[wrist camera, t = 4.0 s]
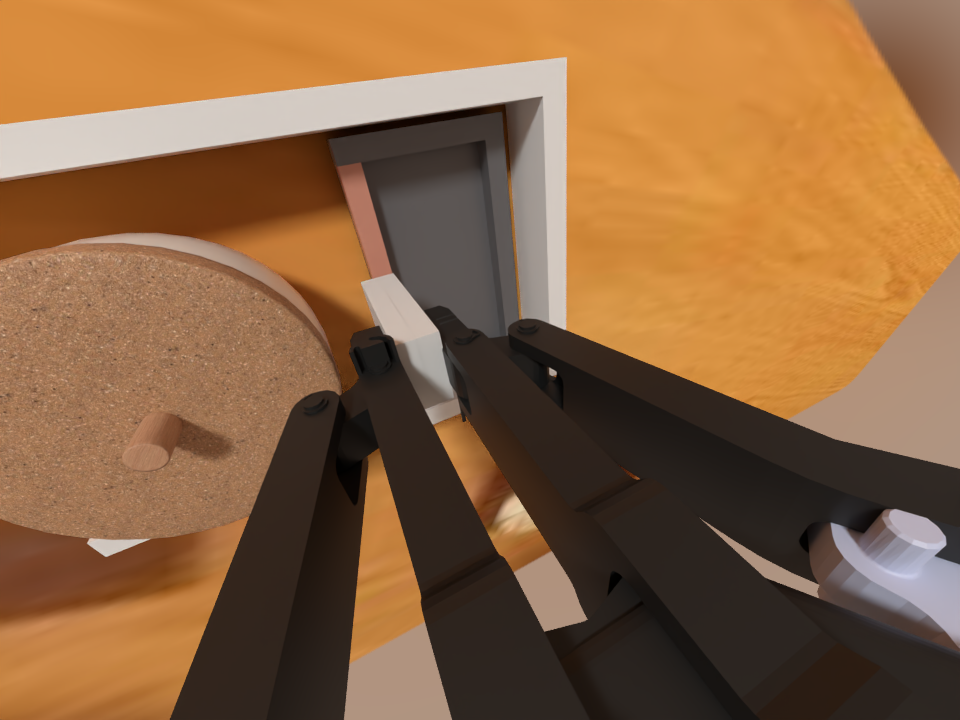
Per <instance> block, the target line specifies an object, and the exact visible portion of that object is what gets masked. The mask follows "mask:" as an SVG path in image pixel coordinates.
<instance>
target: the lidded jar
mask: <svg viewBox="0 0 960 720" xmlns="http://www.w3.org/2000/svg"><path fill="white" fill-rule="evenodd" d="M325 390H330V391H335V392H336V393H337V394H338V395H341V394H342V387H341V380H340V374H339V371H338V368H337V365H336V363H335V360H334V357H333V354H332V352H331V348H330V346H329V343H328V340H327V337H326V334H325V332H324V330H323V328H322V326H321V324H320V322H319V321H318V319H317V317H316V315H315V314H314V312H313V310H312V308H311V307H310V306H309V305H308V303H307V302H306V301H305V300H304V298H303V297H302V296H301V295H300V294H299V292H297V291H296V290H295V289H294V288H293V287H292V286H291V285H290V284H289V283H288V282H287V281H286V280H285V279H283V278H282V277H281V276H280V275H279V274H277V273H276V272H274V271H273V270H272V269H270V268H269V267H267V266H266V265H264V264H263V263H261V262H259V261H257V260H255V259H254V258H252V257H250V256H248V255H246V254H244V253H242V252H239V251H237V250H234V249H232V248H229V247H226V246H224V245H221V244H218V243H214V242H210V241H206V240H202V239H198V238H194V237H187V236H179V235H171V234H162V233H124V234H115V235H107V236H100V237H93V238H86V239H80V240H76V241H73V242H69V243H66V244H63V245H59V246H56V247H52V248H45V249H39V250H34V251H30V252H27V253H23V254H20V255H17V256H13V257H10V258H6V259H3V260H0V519H3V520H5V521H8V522H11V523H14V524H17V525H21V526H25V527H29V528H32V529H36V530H40V531H43V532H47V533H54V534H61V535H67V536H74V537H81V538H94V539H106V540H134V539H152V538H164V537H174V536H179V535H184V534H190V533H195V532H200V531H204V530H208V529H212V528H215V527H219V526H223V525H227V524H229V523H232V522H234V521H237V520H240V519H242V518H245V517H247V516H250V514H251V511H252V509H253V506H254V504H255V501H256V498H257V496H258V493H259V491H260V488H261V486H262V483H263V481H264V478H265V475H266V473H267V470H268V468H269V465H270V463H271V460H272V458H273V455H274V452H275V450H276V447H277V445H278V442H279V440H280V437H281V435H282V432H283V430H284V427H285V424H286V422H287V419H288V417H289V414H290V412H291V410H292V408H293V407H294V405H295V404H296V403H297V402H299V401H300V400H301V399H302V398H304V397H305V396H308V395H309V394H311V393H315V392H318V391H325Z"/></svg>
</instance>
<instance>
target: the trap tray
mask: <svg viewBox="0 0 960 720" xmlns="http://www.w3.org/2000/svg"><path fill="white" fill-rule="evenodd" d="M326 141H327V144H328V147H329V150H330V153H331V156H332V159H333V162H334V165H335V169H336V172H337V175H338V178H339V181H340V184H341V187H342V190H343V193H344V197H345V200H346V203H347V206H348V209H349V212H350V215H351V218H352V221H353V225H354V228H355V231H356V234H357V237H358V240H359V243H360V246H361V249H362V253H363V256H364V259H365V262H366V265H367V268H368V271H369V274H370V277H371V279H374V278H377V277H381V276H384V275H388V274H392V273H393V274H394V275H395V276H396V277H397V279H398V280H399V281H400V282H401V284H402V285H403V286H404V287H405V289H406V290H407V291H408V292H409V294H410V295H411V296H412V298H413V299H414V300H415V301H416V303H417V304H418V305H419V306H420V308H421V309H422V310H427V309H430V308H433V307H436V306H439V305H440V306H443V307H446V308H449V309H450V310H451V311H452V312H453V313H454V314H455V315H456V316H457V318H458V319H459V320H460V321H461V322H462V323H463V324H464V325H465V326H466V327H467V328H468V329H477V330H480V331H481V332H483V333H484V334H485V335H486V336H487V337H488V338H494V337H501V336H508V327H509V325H511V324H512V323H514V322H516V321H518V320H519V314H518V302H517V289H516V277H515V265H514V253H513V241H512V229H511V216H510V204H509V192H508V180H507V168H506V155H505V143H504V131H503V119H502V112H497V113H491V114H484V115H478V116H472V117H466V118H459V119H453V120H447V121H440V122H434V123H428V124H422V125H415V126H409V127H403V128H397V129H390V130H384V131H378V132H372V133H365V134H359V135H353V136H347V137H340V138H334V139H328V140H326Z"/></svg>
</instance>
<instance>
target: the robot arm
mask: <svg viewBox="0 0 960 720" xmlns="http://www.w3.org/2000/svg"><path fill="white" fill-rule="evenodd" d="M361 285H362V288H363V291H364V294H365V297H366V300H367V303H368V306H369V308H370V311H371V314H372V317H373V320H374V323H375V327H372V328H369V329H366V330H363V331H359V332H356V333H354V334H353V336H352V338H351V340H350V342H351V346H352V347H351V348H350V350H349V354H350V356H351V359H352V361H353V364H354V366H355V369H356V371H357V374H358V376H359V379H358V381H357V382H356V384H355V385H354V386H353V387H352V388H351V389H349V390H348V391H346V392H345V393H343V394H341V395H338V394H337V393H336V392H335V391H330V390H325V391H318V392H315V393H311V394H309V395H308V396H305V397H304V398H302V399H301V400H300V401H299V402H297V403H296V404H295V405H294V407H293V408H292V410H291V412H290V414H289V417H288V419H287V422H286V424H285V427H284V430H283V432H282V435H281V437H280V440H279V442H278V445H277V447H276V450H275V452H274V455H273V458H272V460H271V463H270V465H269V468H268V470H267V473H266V475H265V478H264V481H263V483H262V486H261V488H260V491H259V493H258V496H257V498H256V501H255V504H254V506H253V509H252V511H251V514H250V516H249V519H248V521H247V524H246V526H245V529H244V532H243V534H242V537H241V539H240V542H239V544H238V547H237V549H236V552H235V555H234V557H233V560H232V562H231V565H230V567H229V570H228V572H227V575H226V578H225V580H224V583H223V585H222V588H221V590H220V593H219V595H218V598H217V601H216V603H215V606H214V608H213V611H212V613H211V616H210V618H209V621H208V623H207V626H206V629H205V631H204V634H203V636H202V639H201V641H200V644H199V646H198V649H197V652H196V654H195V657H194V659H193V662H192V664H191V667H190V669H189V672H188V675H187V677H186V680H185V682H184V685H183V687H182V690H181V692H180V695H179V697H178V700H177V703H176V705H175V708H174V710H173V713H172V715H171V718H170V720H344V712H345V702H346V691H347V680H348V670H349V660H350V650H351V639H352V629H353V618H354V608H355V598H356V587H357V577H358V566H359V556H360V545H361V535H362V525H363V514H364V504H365V493H366V483H367V472H368V457H367V456H368V455H369V454H371V453H372V452H374V451H375V450H376V449H378V448H379V449H380V453H381V456H382V460H383V463H384V467H385V470H386V474H387V477H388V481H389V484H390V488H391V491H392V495H393V498H394V502H395V505H396V509H397V512H398V515H399V519H400V522H401V526H402V529H403V533H404V536H405V540H406V543H407V547H408V550H409V554H410V557H411V561H412V564H413V568H414V571H415V575H416V578H417V582H418V585H419V589H420V593H421V606H422V612H423V616H424V620H425V624H426V627H427V631H428V635H429V638H430V642H431V645H432V649H433V653H434V655H435V660H436V663H437V667H438V670H439V674H440V678H441V681H442V685H443V688H444V692H445V696H446V699H447V703H448V706H449V710H450V714H451V717H452V720H960V469H958V468H954V467H949V466H945V465H941V464H937V463H933V462H928V461H924V460H920V459H915V458H911V457H907V456H903V455H899V454H894V453H890V452H885V451H882V450H877V449H873V448H869V447H864V446H860V445H856V444H852V443H848V442H843V441H839V440H835V439H832V438H830V437H827V436H825V435H823V434H820V433H817V432H815V431H813V430H810V429H808V428H805V427H803V426H800V425H798V424H795V423H793V422H790V421H788V420H786V419H783V418H781V417H778V416H776V415H773V414H771V413H768V412H766V411H763V410H761V409H759V408H756V407H754V406H751V405H749V404H746V403H744V402H741V401H739V400H736V399H734V398H731V397H729V396H727V395H724V394H722V393H719V392H717V391H714V390H712V389H709V388H707V387H704V386H702V385H699V384H697V383H695V382H692V381H690V380H687V379H685V378H682V377H680V376H677V375H675V374H672V373H670V372H667V371H665V370H662V369H660V368H658V367H655V366H653V365H650V364H648V363H645V362H643V361H640V360H638V359H635V358H633V357H630V356H628V355H626V354H623V353H621V352H618V351H616V350H613V349H611V348H608V347H606V346H603V345H601V344H598V343H596V342H594V341H591V340H589V339H586V338H584V337H581V336H579V335H576V334H574V333H571V332H569V331H566V330H564V329H561V328H559V327H557V326H554V325H552V324H549V323H547V322H544V321H542V320H538V319H530V318H526V319H521V320H518V321H516V322H514V323H512V324H511V325H509V327H508V336H501V337H494V338H488V337H487V336H486V335H485V334H484V333H483V332H481V331H480V330H477V329H468V328H467V327H466V326H465V325H464V324H463V323H462V322H461V321H460V320H459V319H458V318H457V316H456V315H455V314H454V313H453V312H452V311H451V310H450V309H449V308H446V307H443V306H440V305H439V306H436V307H433V308H430V309H427V310H422V309H421V308H420V306H419V305H418V304H417V303H416V301H415V300H414V299H413V298H412V296H411V295H410V294H409V292H408V291H407V290H406V289H405V287H404V286H403V285H402V284H401V282H400V281H399V280H398V279H397V277H396V276H395V275H394V274H393V273H392V274H388V275H384V276H381V277H377V278H374V279H370V280H366V281H363V282H361ZM549 368H551V369H553V370H555V371H556V372H557V376H556V377H553V376H551V375H549ZM452 387H453V389H454V390H455V392H456V393H457V398H458V402H459V407H460V411H461V416H462V420H463V422H465V421H466V418H465V416H466V417H467V418H468V420H469V421H470V423H471V425H472V426H473V428H474V429H475V431H476V432H477V434H478V436H479V437H480V439H481V440H482V442H483V443H484V445H485V447H486V448H487V450H488V451H489V453H490V454H491V456H492V458H493V459H494V461H495V462H496V464H497V465H498V467H499V469H500V470H501V472H502V473H503V475H504V476H505V478H506V480H507V481H508V483H509V484H510V486H511V487H512V489H513V491H514V492H515V494H516V495H517V497H518V498H519V500H520V502H521V503H522V505H523V506H524V508H525V509H526V511H527V513H528V514H529V516H530V517H531V519H532V520H533V522H534V524H535V525H536V527H537V528H538V530H539V531H540V533H541V535H542V536H543V538H544V539H545V541H546V542H547V544H548V546H549V547H550V549H551V550H552V552H553V553H554V555H555V557H556V558H557V560H558V561H559V563H560V564H561V566H562V567H563V569H564V571H565V572H566V574H567V575H568V577H569V579H570V581H571V582H572V584H573V587H574V589H575V591H576V594H577V597H578V599H579V603H580V605H581V607H582V609H583V611H584V613H585V615H586V617H587V619H588V620H586V621H584V622H581V623H577V624H573V625H569V626H565V627H562V628H557V629H554V630H550V631H546V632H544V631H543V629H542V627H541V625H540V623H539V621H538V619H537V617H536V615H535V613H534V611H533V609H532V607H531V606H530V604H529V602H528V600H527V598H526V596H525V594H524V592H523V590H522V588H521V586H520V584H519V582H518V581H517V579H516V577H515V575H514V573H513V571H512V569H511V568H510V566H509V564H508V563H507V561H506V560H505V558H504V557H503V556H500V555H499V554H498V552H497V551H496V549H495V547H494V545H493V543H492V541H491V539H490V537H489V535H488V533H487V531H486V529H485V527H484V525H483V523H482V521H481V519H480V517H479V515H478V513H477V511H476V510H475V508H474V506H473V504H472V502H471V500H470V498H469V496H468V494H467V492H466V490H465V488H464V486H463V484H462V482H461V480H460V478H459V476H458V474H457V472H456V470H455V468H454V466H453V464H452V462H451V460H450V458H449V456H448V454H447V452H446V450H445V448H444V446H443V444H442V442H441V440H440V438H439V436H438V434H437V432H436V430H435V428H434V426H433V424H432V422H431V420H430V419H429V417H428V415H427V413H426V411H425V409H427V408H430V407H432V406H435V405H437V404H440V403H442V402H445V401H447V400H450V399H453V398H454V394H453V389H452ZM615 462H616V463H617V464H619V465H620V466H622V467H623V468H625V469H626V470H628V471H629V472H631V473H632V474H634V475H635V476H637V477H638V478H640V479H639V480H636V479H634V478H632V477H630V476H629V475H628V474H627V473H625V472H624V471H623V470H622V469H621V468H620V467H619V466H618V465H617V464H616V463H615ZM700 518H701V519H702V520H704V521H705V522H707V523H708V524H710V525H711V526H713V527H714V528H716V529H717V530H719V531H720V532H722V533H724V534H725V535H727V536H728V537H730V538H731V539H733V540H734V541H736V542H738V543H739V544H741V545H743V546H744V547H746V548H747V549H749V550H751V551H752V552H754V553H756V554H757V555H759V556H761V557H762V558H764V559H766V560H768V561H770V562H772V563H774V564H776V565H778V566H780V567H782V568H784V569H786V570H788V571H790V572H791V573H794V574H796V575H798V576H801V577H803V578H805V579H808V580H810V581H812V582H815V583H817V584H819V585H820V586H819V588H818V591H817V592H818V595H819V598H816V597H814V596H811V595H809V594H806V593H803V592H801V591H798V590H795V589H793V588H790V587H787V586H785V585H782V584H780V583H777V582H775V581H772V580H769V579H767V578H765V577H763V576H762V575H761V574H760V573H759V572H758V571H757V570H756V569H755V568H754V567H752V566H751V565H750V564H749V563H748V562H747V561H746V560H745V559H744V558H742V557H741V556H740V555H739V554H738V553H737V552H736V551H735V550H734V549H733V548H732V547H731V546H730V545H728V544H727V543H726V542H725V541H724V540H723V539H722V538H721V537H720V536H719V535H718V534H716V533H715V532H714V531H713V530H712V529H711V528H710V527H709V526H708V525H707V524H705V523H704V522H703V521H702V520H701V519H700Z"/></svg>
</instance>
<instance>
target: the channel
mask: <svg viewBox="0 0 960 720" xmlns="http://www.w3.org/2000/svg"><path fill="white" fill-rule="evenodd" d="M566 67H567V57H563V58H555V59H546V60H538V61H530V62H521V63H513V64H505V65H496V66H488V67H479V68H471V69H463V70H454V71H446V72H438V73H429V74H421V75H412V76H404V77H396V78H387V79H379V80H371V81H362V82H354V83H345V84H337V85H329V86H320V87H312V88H304V89H295V90H287V91H278V92H270V93H262V94H253V95H245V96H237V97H228V98H220V99H211V100H203V101H195V102H186V103H178V104H170V105H161V106H153V107H144V108H136V109H128V110H119V111H111V112H103V113H94V114H86V115H77V116H69V117H61V118H52V119H44V120H36V121H27V122H19V123H10V124H2V125H0V182H2V181H9V180H15V179H22V178H28V177H35V176H41V175H48V174H54V173H61V172H67V171H74V170H80V169H87V168H93V167H100V166H106V165H113V164H119V163H126V162H132V161H139V160H145V159H152V158H158V157H165V156H172V155H178V154H185V153H191V152H198V151H204V150H211V149H217V148H224V147H230V146H237V145H243V144H250V143H256V142H263V141H269V140H276V139H282V138H289V137H295V136H302V135H308V134H315V133H321V132H328V131H334V130H341V129H347V128H354V127H360V126H367V125H373V124H380V123H386V122H393V121H399V120H406V119H412V118H419V117H425V116H432V115H438V114H445V113H451V112H458V111H464V110H471V109H477V108H484V107H490V106H497V105H503V104H505V106H506V119H507V132H508V145H509V158H510V171H511V184H512V197H513V210H514V223H515V236H516V249H517V262H518V275H519V288H520V301H521V314H522V319H526V318H530V319H538V320H542V321H544V322H547V323H549V324H552V325H554V326H557V327H559V328H561V329H564V330H566ZM549 375H551V376H554V375H557V372H556V371H555V370H553V369H551V368H549ZM452 389H453V387H452ZM453 394H454V398H453V399H450V400H447V401H445V402H442V403H440V404H437V405H435V406H432V407H430V408H427V409H425V411H426V413H427V415H428V417H429V419H430V420H431V422H432V424H436V423H438V422H441V421H443V420H446V419H448V418H451V417H453V416H455V415H458V414H460V413H461V411H460V407H459V402H458V398H457V393H456V392H455V390H454V389H453ZM147 540H149V539H134V540H106V539H94V538H90V539H89V541H88V543H87V544H88V545H90V546H91V547H93V548H94V549H95V550H97V551H98V552H100V553H101V554H102V555H104V556H105V557H107V556H109V555H112V554H114V553H117V552H119V551H122V550H124V549H127V548H129V547H132V546H134V545H137V544H139V543H142V542H144V541H147Z"/></svg>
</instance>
